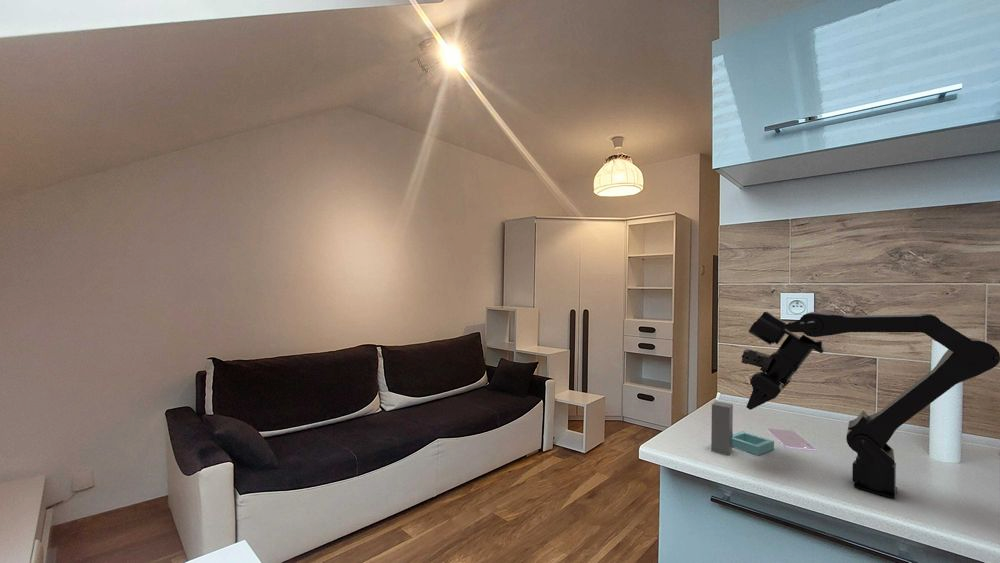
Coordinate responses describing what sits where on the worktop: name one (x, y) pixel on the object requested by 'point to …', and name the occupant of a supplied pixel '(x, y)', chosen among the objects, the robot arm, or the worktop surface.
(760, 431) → the worktop surface
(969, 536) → the worktop surface
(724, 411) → the grey rectangular block
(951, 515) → the worktop surface
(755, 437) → the socket block
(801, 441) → the mobile phone
